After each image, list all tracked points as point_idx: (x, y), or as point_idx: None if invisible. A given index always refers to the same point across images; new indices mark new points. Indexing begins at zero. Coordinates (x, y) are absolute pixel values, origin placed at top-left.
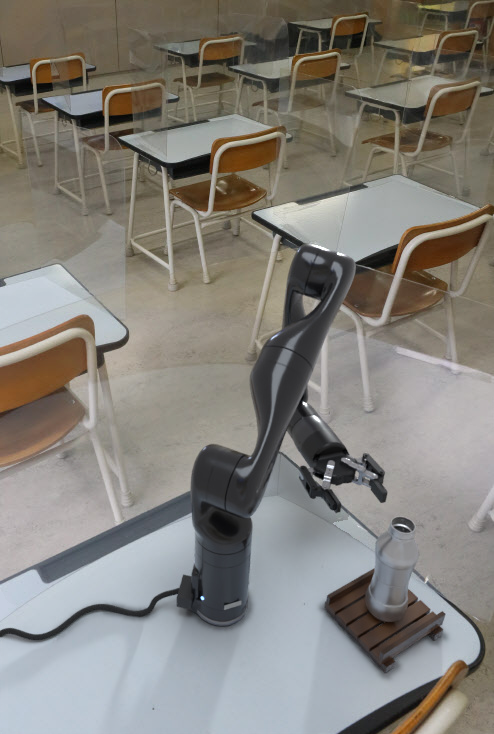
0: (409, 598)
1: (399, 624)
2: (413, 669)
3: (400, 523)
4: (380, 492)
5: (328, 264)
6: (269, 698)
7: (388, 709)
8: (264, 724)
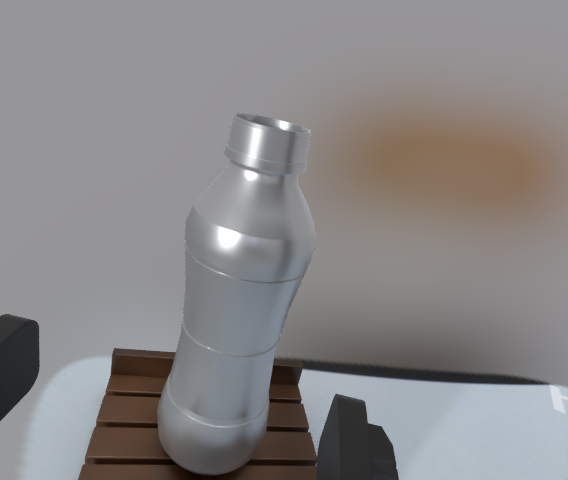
0: (116, 435)
1: None
2: None
3: (246, 154)
4: (13, 345)
5: None
6: (509, 463)
7: (314, 364)
8: (518, 435)
